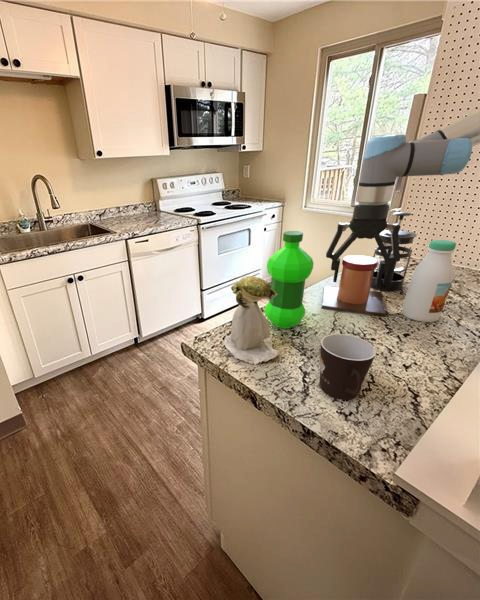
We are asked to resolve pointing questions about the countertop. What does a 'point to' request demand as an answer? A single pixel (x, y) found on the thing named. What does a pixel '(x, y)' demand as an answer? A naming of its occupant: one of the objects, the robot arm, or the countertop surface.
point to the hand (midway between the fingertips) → (355, 282)
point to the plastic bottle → (288, 281)
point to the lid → (360, 262)
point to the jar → (355, 285)
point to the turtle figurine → (251, 322)
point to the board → (370, 307)
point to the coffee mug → (344, 365)
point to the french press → (392, 278)
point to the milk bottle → (430, 283)
